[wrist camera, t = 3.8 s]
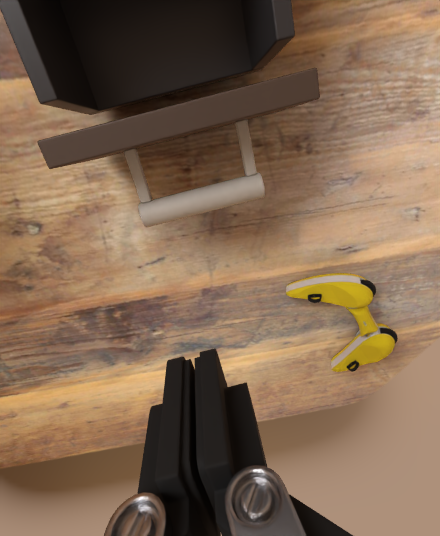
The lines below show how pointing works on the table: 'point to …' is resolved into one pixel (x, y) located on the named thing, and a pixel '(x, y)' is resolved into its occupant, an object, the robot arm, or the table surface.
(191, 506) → the robot arm
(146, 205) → the drawer
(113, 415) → the table surface
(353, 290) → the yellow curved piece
